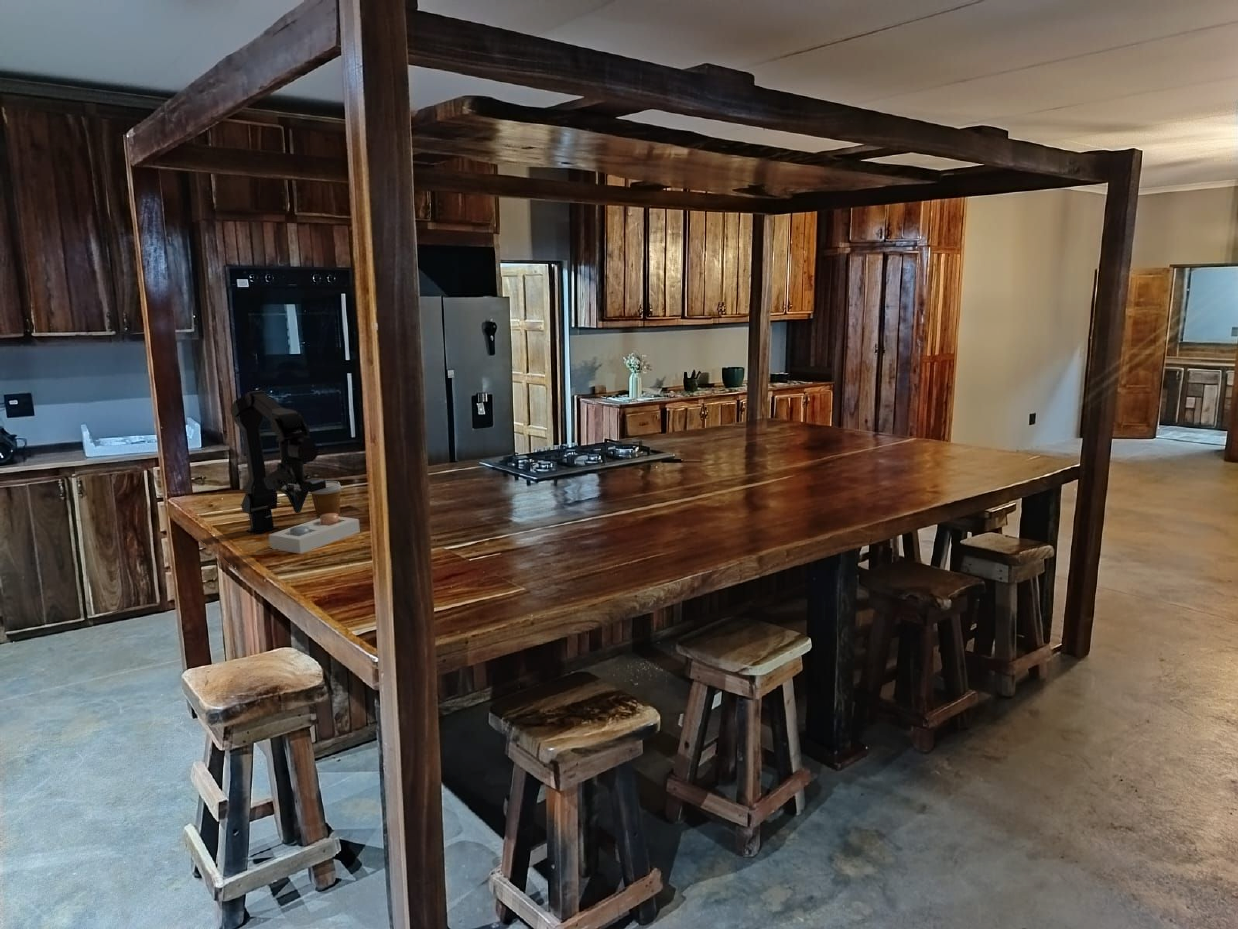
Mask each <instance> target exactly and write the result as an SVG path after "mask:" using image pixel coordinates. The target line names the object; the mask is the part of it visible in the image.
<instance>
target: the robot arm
mask: <svg viewBox="0 0 1238 929" xmlns="http://www.w3.org/2000/svg"><path fill="white" fill-rule="evenodd" d="M230 414H231V415H232V417H233V418H232V419H233V422H234V424H235V425H236V426H237V427H238V428H239V429H240V430H241V433H242V434H241V435H242V441H243V446H244V447H243V448H244V452H245V453H244V454H245V459H246V465H247V472H248V481H247V483H246V485H245V487H244V493H245V494H244V496H243V499H242V502H241V504H240V506H241V510H242V513H244V514H248V517H249V526H250V528H247V529H246V530H245V531H246V532H248V533H255V534H263V533H266V532H267V533H268V532H270V531H273V530H276V529H278V527H279V526H277V525H274V517H273V514H272V513H273V512H272V510H274V509H275V510H276V509H277V508H278V493H277V491H278V492H279V493H280V492H281V494H282V493H283V494H284V495H285V496H286V497H287V499H288V501H289V502H290V505H291V506H292V507H291V508H292V509H293V510H294V513H295V514H300V513H301V512H302V510H303V506H304V504H305V501H306V498H307V496H308V495H309V493H310V492H314V491H318V490H321V489H325V488H326V481H327V480H325V479H324V478H321V477H311V478H309V474H306V473H305V467H304V465H307V464H308V463H312V462H313V461H315V460H316V459H317V457H318V455H319V449H318V446H317V445H316V443H314V442H313V441H311V440H310V437H311V433H310V429H309V427H308V425H307V424H306V422H305V420H304V418H303V417H302V415H301V414H300V413H299V412H298V411H296V410H293V409H288V408H284V407H282V405H280V404H279V403H278V402H276V401H275V400H274V399H273V398H271V397H270V396H269V395H268V393H267V391H265V390H255V391H249V392H246V394H244V396H241V397H239V398H238V399H236V400H234V402H233V403H231V406H230ZM264 417H265V418H266V419H267V420H268V421H270V428H271V429H272V430H273V432H274V434H275V435H276V436H277V437H276V438H275V441H276V442H278V449H279V458H280V462H278V463H277V465H276V470H274V471H272V472H271V473H269V474H267V471H266V470H267V469H266V464H265V458H264V451H263V442H262V438H261V431H260V427H261V426H262V424H263V421H264V419H265V418H264Z"/></svg>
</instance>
